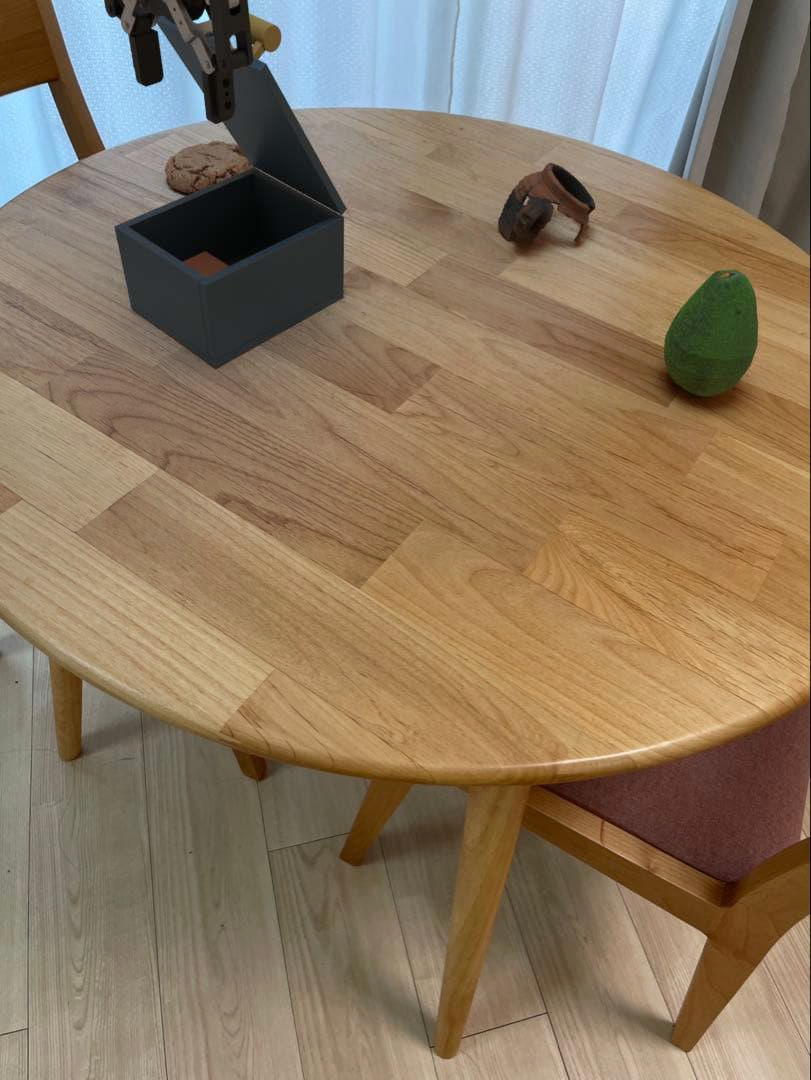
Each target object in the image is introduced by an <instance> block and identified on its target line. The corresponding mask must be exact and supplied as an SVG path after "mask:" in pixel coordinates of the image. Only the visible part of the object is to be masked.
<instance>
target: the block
mask: <svg viewBox="0 0 811 1080" xmlns="http://www.w3.org/2000/svg"><path fill="white" fill-rule="evenodd" d="M183 263H185V264H186V265H188V266H189V267H191V268H193V269H194V270H196V271H197V272H199V273H200V274H202V275H203V276H205V277H206V278H207V277H209V276H211V275H213V274H215V273H217V272H219V271H221V270H223V269H225V268H227V267H230V266H228V265H227V264H225V263H223V262H222V261H220V260H219V259H217V258H215V257H214V256H212V255H211V254H209V253H207V252H206V251H204V252H202V253H200V254H198V255H196V256H194V257H192V258H190V259H188V260H185V261H183Z"/></svg>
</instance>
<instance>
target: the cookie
mask: <svg viewBox="0 0 811 1080" xmlns="http://www.w3.org/2000/svg"><path fill="white" fill-rule="evenodd" d="M251 168H253V166H252V165H251V164H250V163H249V161H248V160H247V158H246V157H245V155H244V154H243V152H242V150H241V149H240V147H239V146H238V144H237V143H231V142H230V143H229V142H227V143H226V141H221V140H212V141H210V142H208V143H198V144H195V145H190V146H187V147H183V148H182V149H180V150H179V151H178V152H176V154H174V155H171V156H170V157H169V158H168V160H167V162H166V164H165V167H164V174H165V175H166V183H168V184H169V187H170V188H171V189H174V190H177V191H179V192H182V193H186V194H191V193H194V192H196V191H199V190H201V189H204V188H206V187H208V186H211V185H213V184H215V183H218V182H220V181H222V180H225V179H227V178H230V177H232V176H234V175H237V174H239V173H241V172H244V171H246V170H249V169H251Z"/></svg>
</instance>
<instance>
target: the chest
mask: <svg viewBox="0 0 811 1080" xmlns="http://www.w3.org/2000/svg"><path fill="white" fill-rule="evenodd" d="M113 228H114V233H115V238H116V242H117V248H118V252H119V256H120V261H121V265H122V266H121V267H122V271H123V275H124V281H125V284H126V289H127V294H128V299H129V304H130V308H131V310H132V311H134V312H135V313H137V314H138V315H139V316H141V317H142V318H144V319H145V320H147V321H148V322H149V323H151V324H152V325H153V326H155V327H156V328H158V329H159V330H161V331H162V332H163V333H165V334H166V335H168V336H169V337H171V338H172V339H174V340H175V341H176V342H177V343H179V344H180V345H182V346H183V347H185V348H186V350H187V349H188V350H189V351H190V352H192V354H195V355H196V356H197V357H199V358H200V359H201V360H202V361H204V362H206V363H207V364H209V365H210V366H211V367H213V368H214V369H218V368H220V367H222V366H223V365H225V364H227V363H229V362H230V361H233V360H234V359H236V358H238V357H239V356H241V355H243V354H245V353H247V352H248V351H250V350H252V349H254V348H255V347H257V346H259V345H261V344H263V343H264V342H266V341H268V340H269V339H272V338H273V337H275V336H277V335H279V334H280V333H283V332H284V331H286V330H287V329H290V328H291V327H293V326H295V325H296V324H298V323H300V322H302V321H304V320H305V319H307V318H309V317H311V316H312V315H315V314H316V313H318V312H319V311H321V310H323V309H325V308H327V307H329V306H330V305H332V304H334V303H336V302H338V301H339V300H341V299H343V298H344V297H345V290H344V289H345V284H344V283H345V281H344V280H345V216H344V215H341V214H339V213H337V212H335V211H333V210H332V209H330V208H328V207H326V206H324V205H322V204H321V203H319V202H317V201H315V200H313V199H312V198H310V197H308V196H306V195H304V194H302V193H301V192H299V191H297V190H295V189H293V188H292V187H290V186H288V185H286V184H284V183H282V182H281V181H279V180H277V179H275V178H273V177H272V176H270V175H268V174H266V173H264V172H263V171H261V170H259V169H257V168H255V167H253V168H251V169H249V170H246V171H244V172H241V173H239V174H237V175H234V176H232V177H230V178H227V179H225V180H222V181H220V182H218V183H215V184H213V185H211V186H208V187H206V188H204V189H201V190H199V191H196V192H191V193H188V194H187V195H185V196H182V197H180V198H177V199H175V200H173V201H170V202H168V203H166V204H164V205H161V206H159V207H156V208H153V209H151V210H150V211H147V212H145V213H143V214H139V215H137V216H135V217H133V218H130V219H128V220H125V221H123V222H121V223H118V224H116V225H114V226H113ZM204 251H206V252H207V253H209V254H211V255H212V256H214V257H215V258H217V259H219V260H220V261H222V262H223V263H225V264H227V265H228V266H230V267H227V268H225V269H223V270H221V271H219V272H217V273H215V274H213V275H211V276H209V277H207V278H206V277H205V276H203V275H202V274H200V273H199V272H197V271H196V270H194V269H193V268H191V267H189V266H188V265H186V264H185V263H183V261H185V260H188V259H190V258H192V257H194V256H196V255H198V254H200V253H202V252H204Z"/></svg>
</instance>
